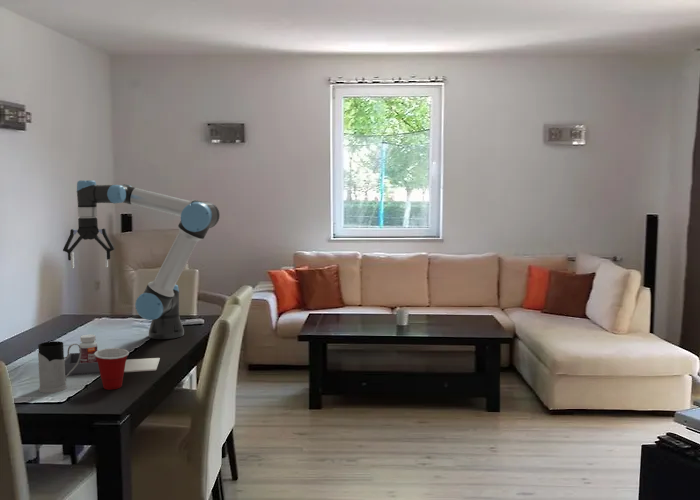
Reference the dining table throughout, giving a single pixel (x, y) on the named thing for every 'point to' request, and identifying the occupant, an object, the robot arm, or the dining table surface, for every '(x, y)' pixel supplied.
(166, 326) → the robot arm
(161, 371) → the dining table surface
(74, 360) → the mailer box
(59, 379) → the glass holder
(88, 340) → the pill bottle
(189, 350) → the dining table surface
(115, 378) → the plastic cup
